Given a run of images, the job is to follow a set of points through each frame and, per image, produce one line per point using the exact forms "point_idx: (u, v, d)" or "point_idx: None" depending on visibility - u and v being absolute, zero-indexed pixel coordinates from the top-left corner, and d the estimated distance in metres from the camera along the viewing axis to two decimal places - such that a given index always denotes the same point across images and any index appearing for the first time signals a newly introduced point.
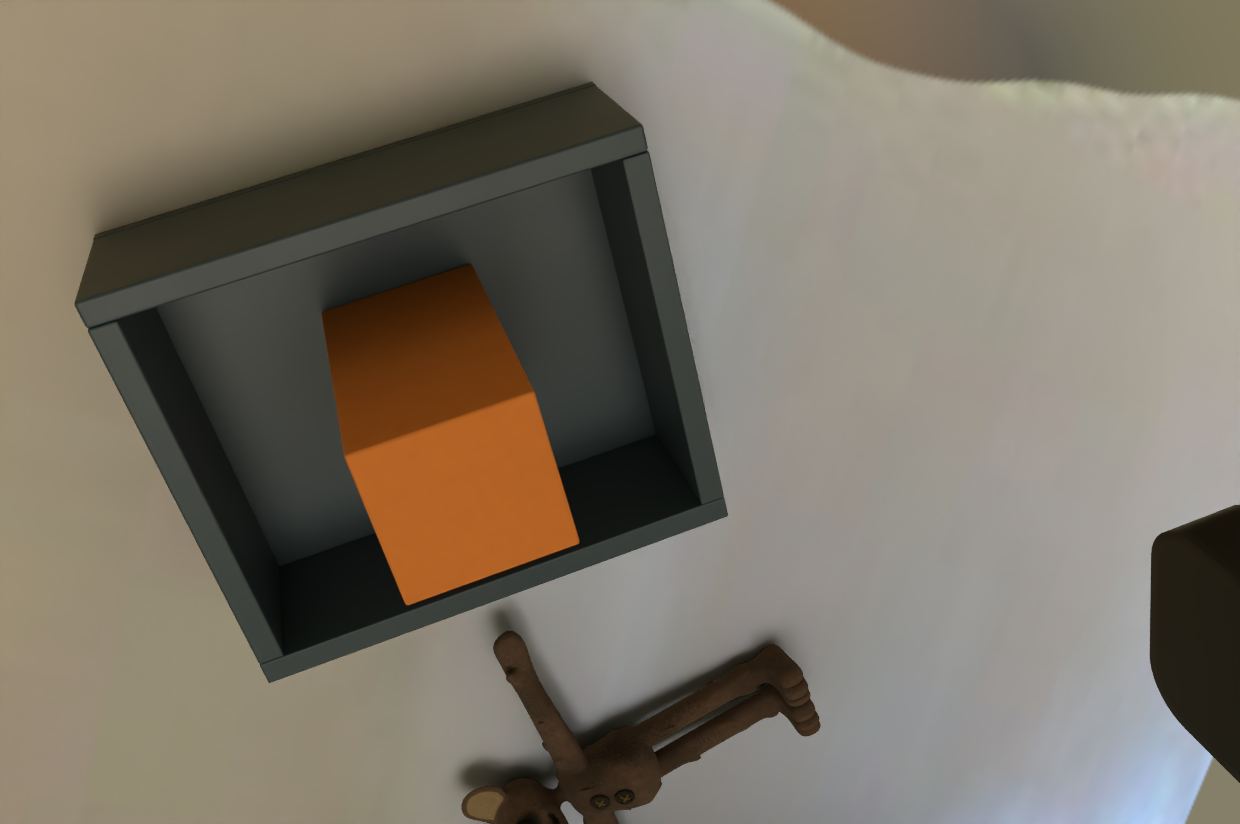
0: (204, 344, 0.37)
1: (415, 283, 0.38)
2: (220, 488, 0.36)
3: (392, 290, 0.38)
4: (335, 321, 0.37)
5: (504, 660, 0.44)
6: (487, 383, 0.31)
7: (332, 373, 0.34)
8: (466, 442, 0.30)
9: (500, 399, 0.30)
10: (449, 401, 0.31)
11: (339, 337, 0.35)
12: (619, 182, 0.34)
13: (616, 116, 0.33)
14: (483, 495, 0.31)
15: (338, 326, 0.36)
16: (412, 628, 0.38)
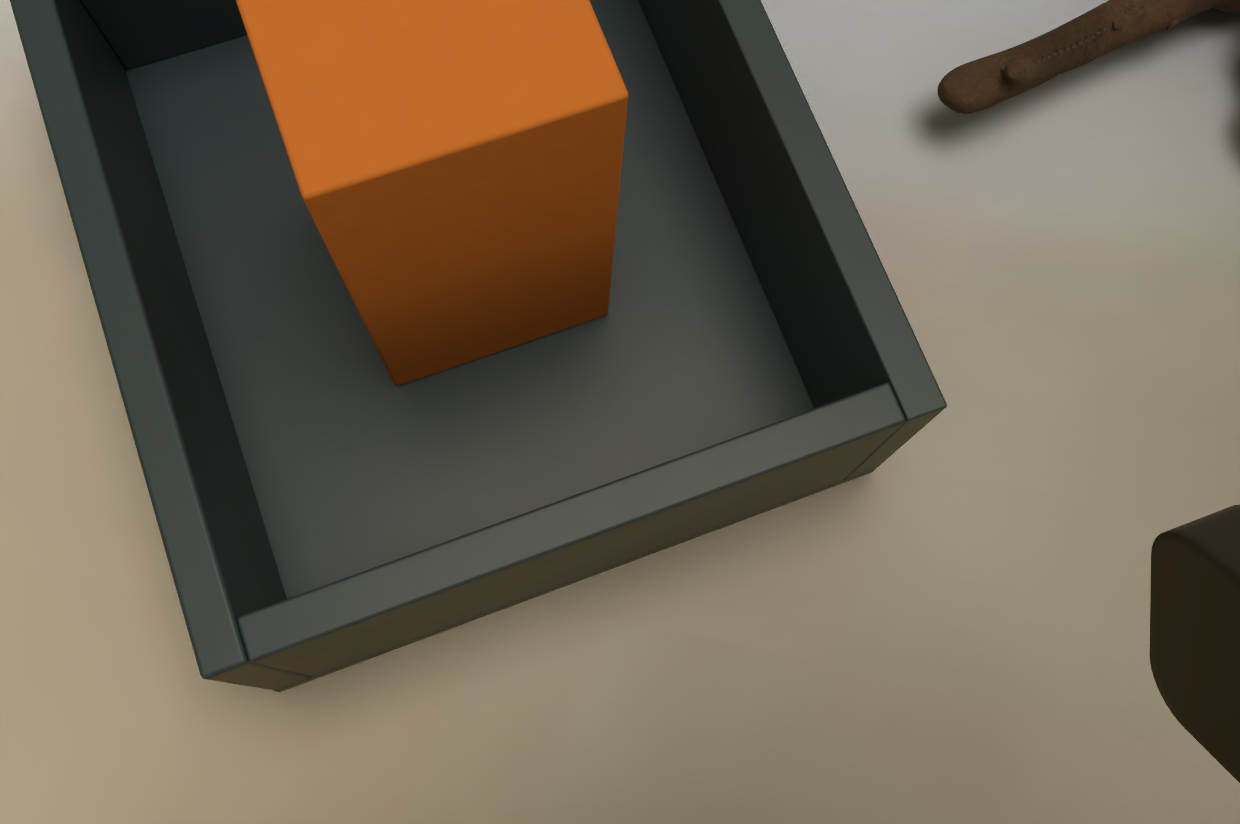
0: None
1: None
2: None
3: None
4: None
5: (987, 90, 0.27)
6: None
7: (359, 312, 0.22)
8: (293, 10, 0.18)
9: None
10: None
11: None
12: None
13: None
14: None
15: None
16: (842, 182, 0.22)
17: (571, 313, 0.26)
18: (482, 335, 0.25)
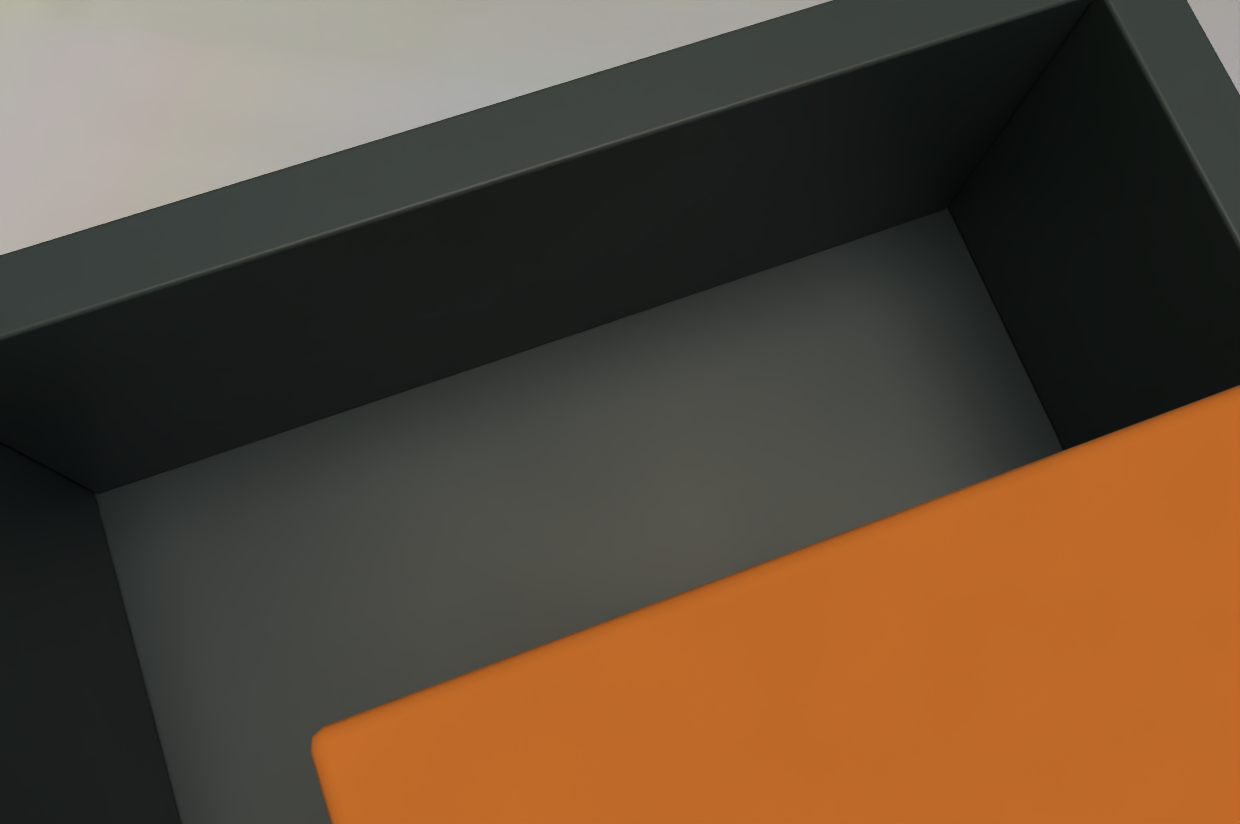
0: None
1: None
2: None
3: None
4: None
5: None
6: None
7: None
8: None
9: None
10: None
11: None
12: (41, 378, 0.11)
13: None
14: None
15: None
16: None
17: None
18: None
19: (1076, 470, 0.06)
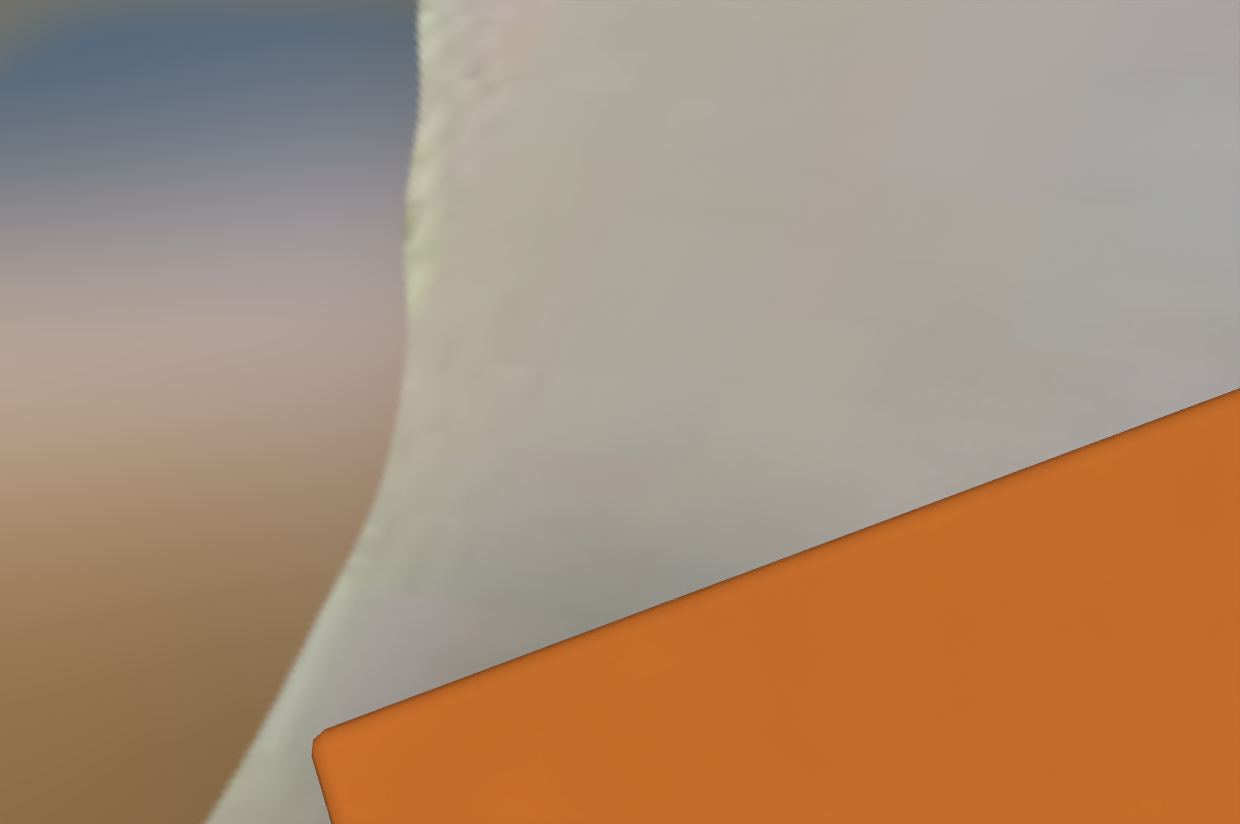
0: None
1: None
2: None
3: None
4: None
5: None
6: None
7: None
8: None
9: None
10: None
11: None
12: None
13: None
14: None
15: None
16: None
17: None
18: None
19: (1078, 473, 0.06)
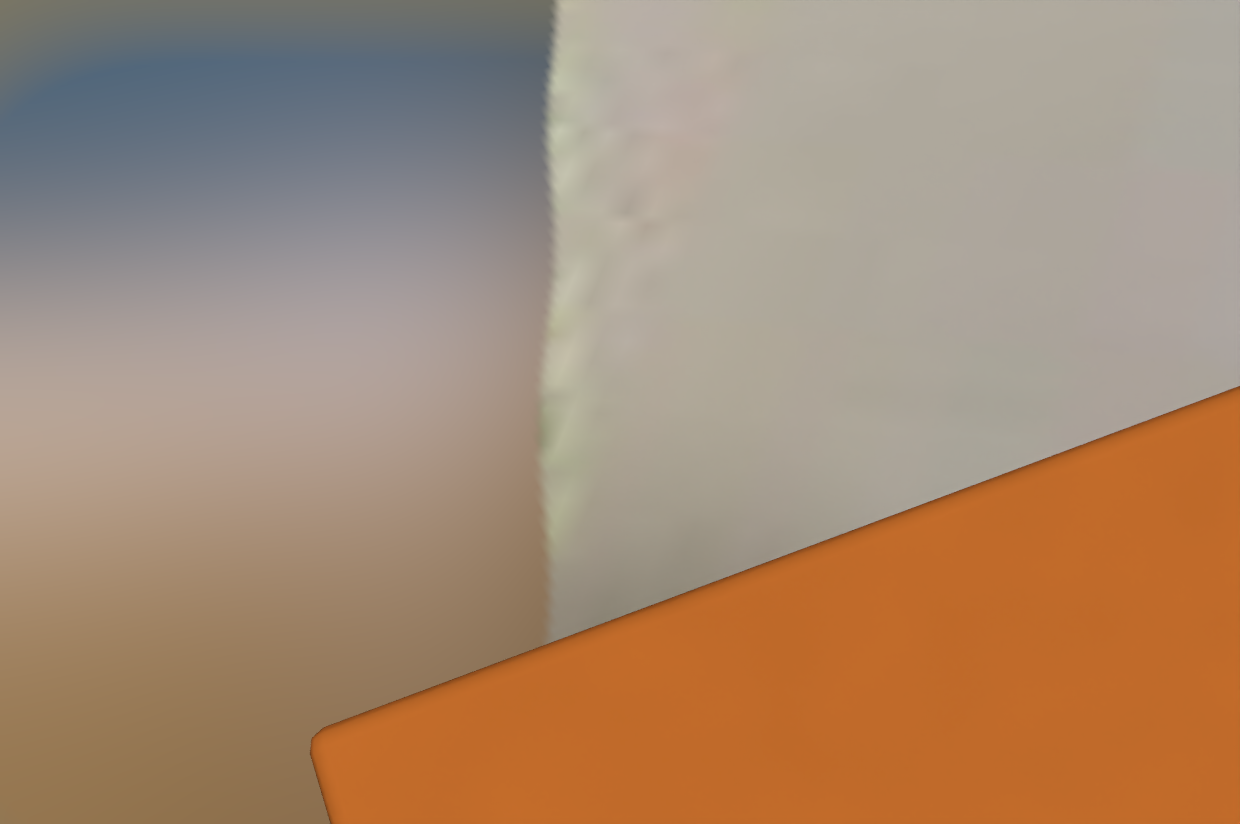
0: None
1: None
2: None
3: None
4: None
5: None
6: None
7: None
8: None
9: None
10: None
11: None
12: None
13: None
14: None
15: None
16: None
17: None
18: None
19: (1077, 470, 0.06)
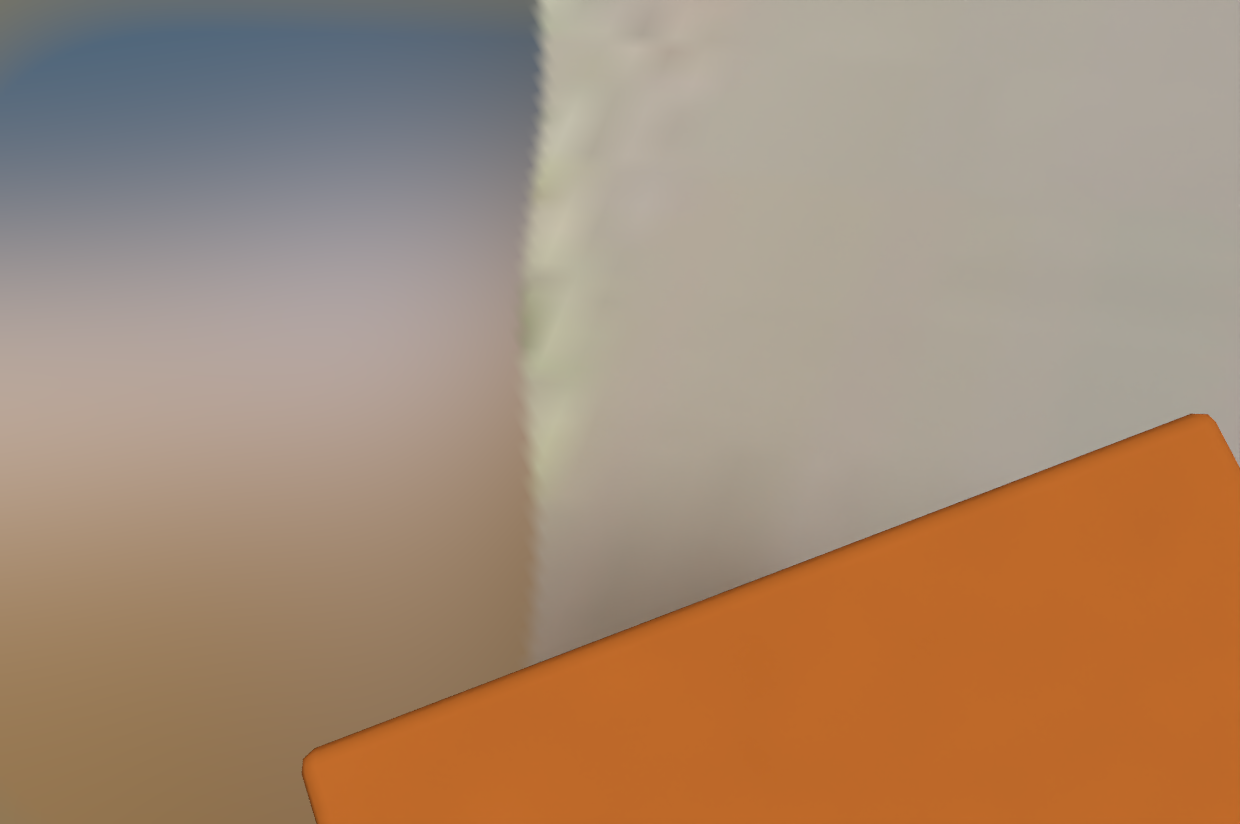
0: None
1: None
2: None
3: None
4: None
5: None
6: None
7: None
8: None
9: None
10: None
11: None
12: None
13: None
14: None
15: None
16: None
17: None
18: None
19: (1033, 498, 0.06)
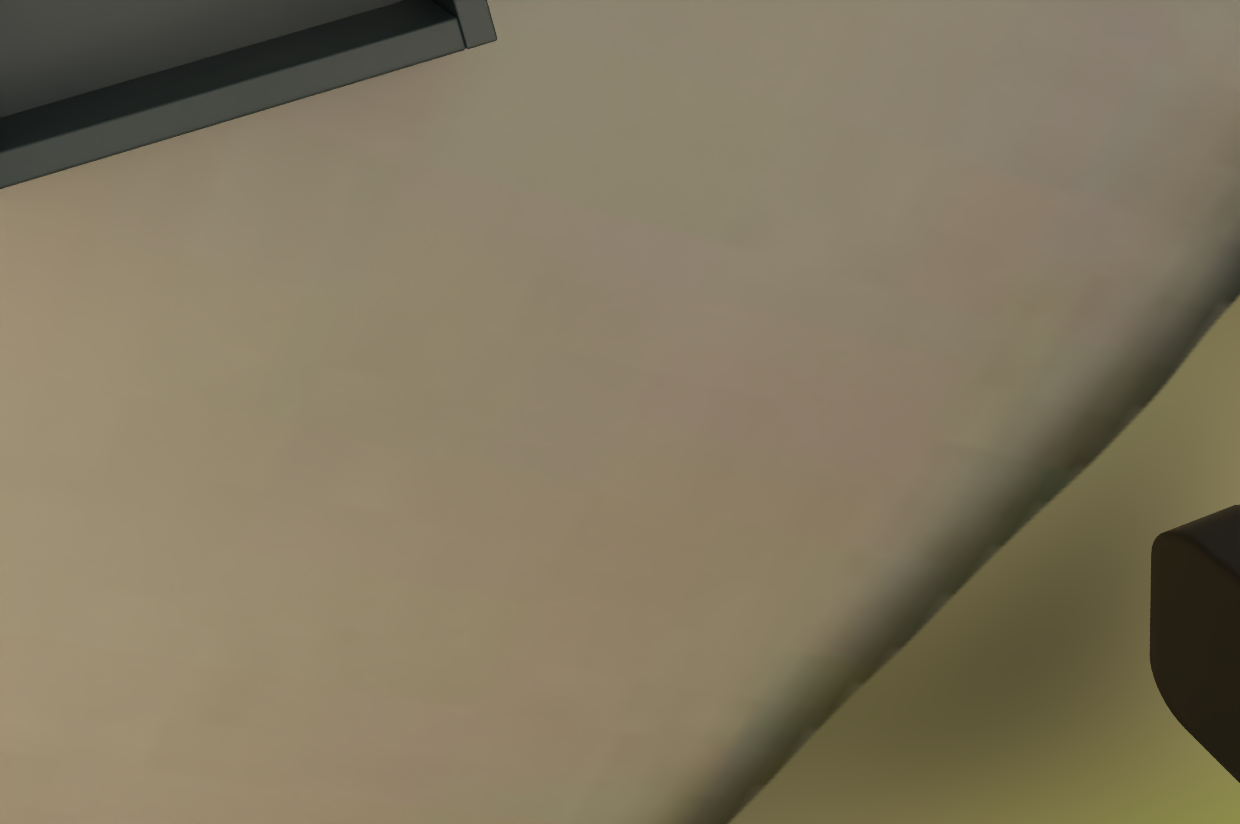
0: (100, 53, 0.31)
1: None
2: (244, 64, 0.30)
3: None
4: None
5: None
6: None
7: None
8: None
9: None
10: None
11: None
12: None
13: None
14: None
15: None
16: None
17: None
18: None
19: None
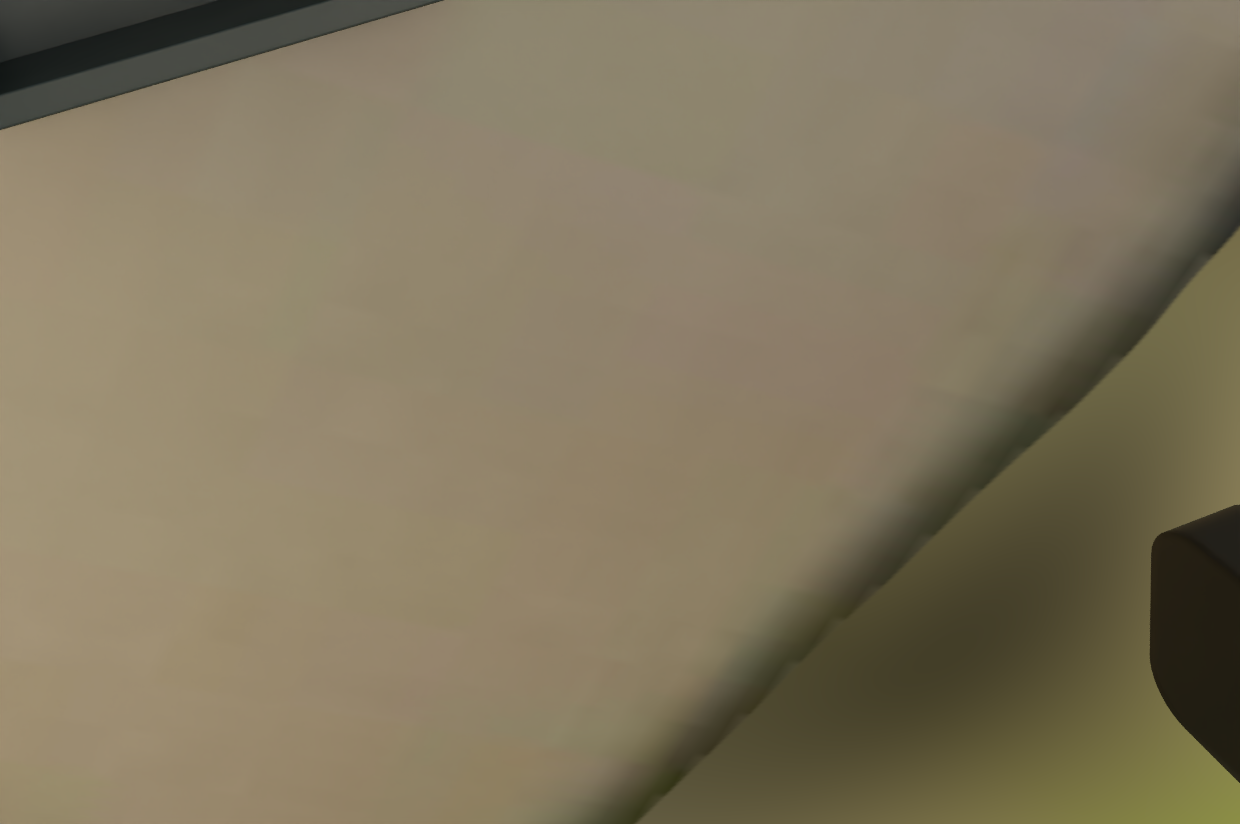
0: None
1: None
2: (243, 9, 0.31)
3: None
4: None
5: None
6: None
7: None
8: None
9: None
10: None
11: None
12: None
13: None
14: None
15: None
16: None
17: None
18: None
19: None
